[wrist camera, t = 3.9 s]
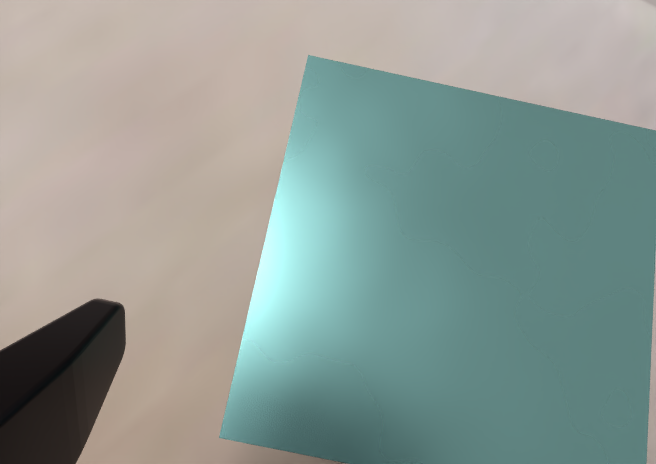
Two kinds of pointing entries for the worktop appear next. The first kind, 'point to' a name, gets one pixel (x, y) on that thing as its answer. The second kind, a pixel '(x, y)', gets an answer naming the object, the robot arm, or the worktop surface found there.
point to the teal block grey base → (450, 281)
